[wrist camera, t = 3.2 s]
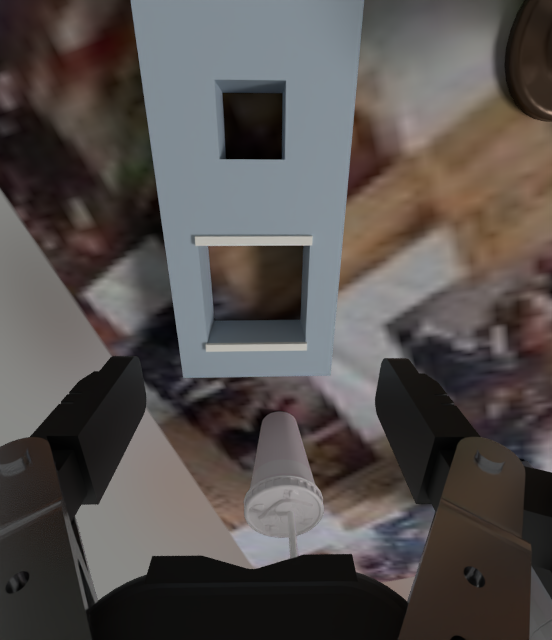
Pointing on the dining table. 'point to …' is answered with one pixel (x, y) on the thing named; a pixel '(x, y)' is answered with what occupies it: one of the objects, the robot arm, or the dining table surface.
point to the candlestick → (531, 59)
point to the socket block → (251, 165)
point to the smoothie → (282, 483)
